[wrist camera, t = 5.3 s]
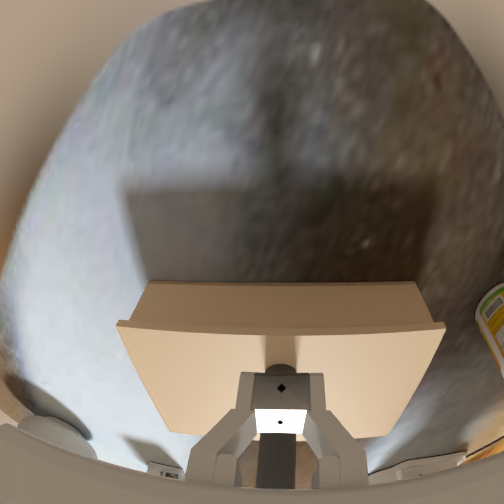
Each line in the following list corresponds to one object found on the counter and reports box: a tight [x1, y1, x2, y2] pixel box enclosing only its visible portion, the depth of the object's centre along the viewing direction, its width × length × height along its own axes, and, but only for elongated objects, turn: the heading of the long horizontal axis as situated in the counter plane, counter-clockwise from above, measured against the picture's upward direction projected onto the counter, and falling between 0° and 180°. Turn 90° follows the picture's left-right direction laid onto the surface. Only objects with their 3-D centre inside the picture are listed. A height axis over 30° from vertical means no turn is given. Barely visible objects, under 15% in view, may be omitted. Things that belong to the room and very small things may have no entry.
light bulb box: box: [147, 462, 185, 480], centre depth 46 cm, size 11×7×11 cm, turn 177°
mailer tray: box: [129, 280, 434, 328], centre depth 24 cm, size 20×14×5 cm
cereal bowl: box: [17, 415, 97, 459], centre depth 43 cm, size 17×17×7 cm
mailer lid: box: [116, 320, 446, 489], centre depth 18 cm, size 21×15×10 cm
